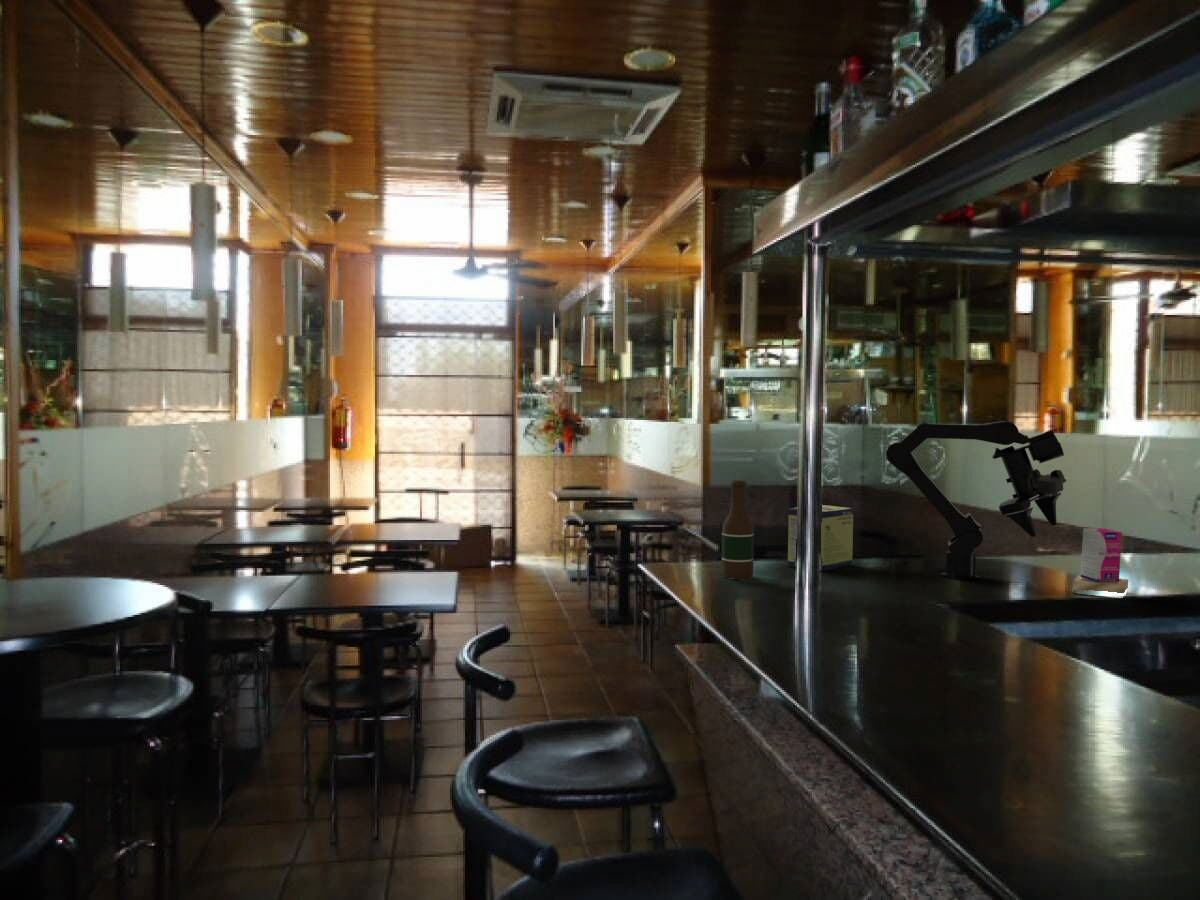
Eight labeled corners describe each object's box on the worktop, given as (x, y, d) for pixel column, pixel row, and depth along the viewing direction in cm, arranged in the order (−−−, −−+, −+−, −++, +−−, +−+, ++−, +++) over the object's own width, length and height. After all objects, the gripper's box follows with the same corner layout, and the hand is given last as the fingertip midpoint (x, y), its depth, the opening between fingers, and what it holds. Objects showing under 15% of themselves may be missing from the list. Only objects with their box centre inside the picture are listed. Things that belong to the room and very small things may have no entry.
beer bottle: (755, 580, 218) (757, 481, 217) (723, 580, 218) (724, 481, 217) (750, 574, 226) (752, 479, 224) (719, 574, 226) (721, 478, 225)
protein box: (853, 565, 241) (854, 507, 240) (820, 572, 230) (821, 511, 229) (819, 560, 248) (820, 504, 248) (786, 566, 238) (787, 508, 237)
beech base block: (1072, 593, 205) (1072, 580, 205) (1079, 586, 213) (1079, 573, 213) (1122, 599, 199) (1123, 585, 199) (1127, 592, 207) (1128, 578, 207)
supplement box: (1096, 582, 203) (1098, 531, 202) (1079, 577, 209) (1081, 528, 208) (1120, 581, 204) (1122, 531, 203) (1103, 576, 209) (1104, 527, 209)
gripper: (1028, 472, 207) (1054, 536, 206) (1070, 452, 217) (1095, 513, 216) (987, 483, 216) (1011, 544, 215) (1029, 463, 226) (1053, 522, 225)
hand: (1044, 530), depth 217 cm, fingers open, 9 cm apart
